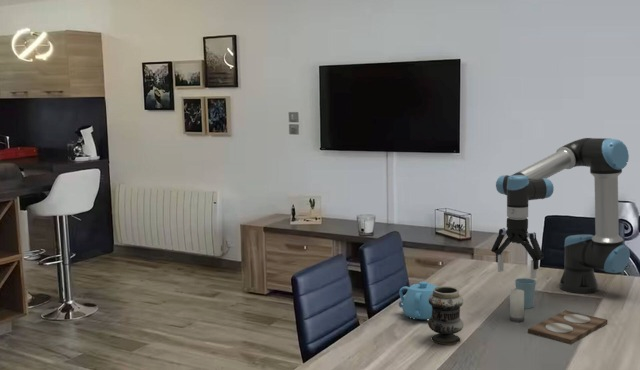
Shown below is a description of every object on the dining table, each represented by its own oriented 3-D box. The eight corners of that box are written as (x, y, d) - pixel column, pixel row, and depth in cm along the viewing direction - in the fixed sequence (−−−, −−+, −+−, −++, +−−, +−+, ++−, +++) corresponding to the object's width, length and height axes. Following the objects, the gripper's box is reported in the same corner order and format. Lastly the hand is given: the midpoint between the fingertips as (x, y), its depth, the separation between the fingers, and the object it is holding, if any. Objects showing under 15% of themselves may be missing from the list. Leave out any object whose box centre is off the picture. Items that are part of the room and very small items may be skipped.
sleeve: (514, 316, 249) (514, 288, 248) (526, 319, 245) (526, 290, 244) (507, 319, 246) (507, 291, 244) (519, 322, 242) (519, 293, 241)
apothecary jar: (456, 348, 220) (455, 296, 218) (422, 342, 226) (422, 291, 224) (468, 336, 230) (468, 286, 228) (436, 331, 236) (435, 282, 234)
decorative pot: (435, 308, 262) (434, 274, 261) (452, 320, 247) (452, 285, 245) (396, 312, 259) (395, 278, 257) (411, 325, 243) (410, 289, 242)
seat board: (565, 314, 250) (565, 309, 250) (607, 323, 238) (607, 318, 238) (527, 332, 232) (527, 327, 232) (571, 344, 220) (571, 338, 220)
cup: (539, 307, 259) (540, 281, 257) (524, 310, 256) (524, 284, 254) (526, 302, 266) (526, 277, 264) (511, 305, 262) (511, 279, 261)
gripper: (482, 215, 247) (481, 270, 250) (543, 223, 229) (542, 282, 231) (493, 212, 252) (493, 267, 255) (554, 220, 234) (553, 278, 236)
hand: (516, 274), depth 243 cm, fingers open, 13 cm apart
